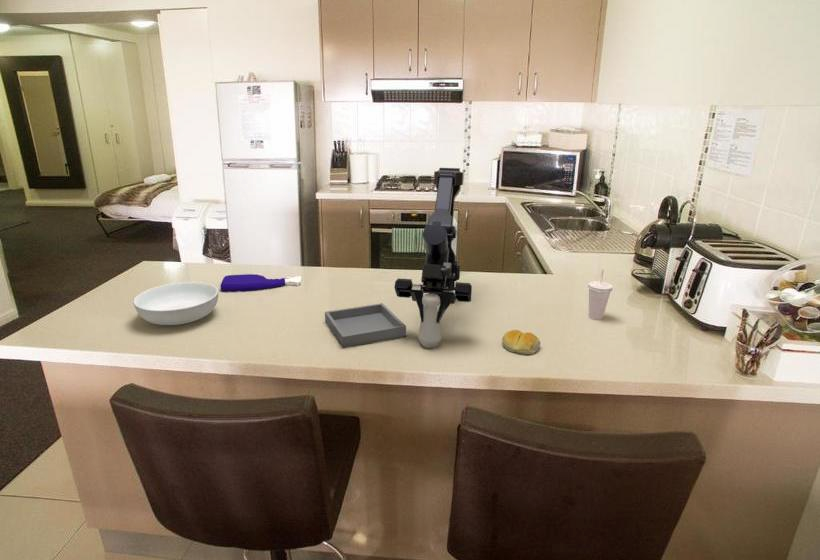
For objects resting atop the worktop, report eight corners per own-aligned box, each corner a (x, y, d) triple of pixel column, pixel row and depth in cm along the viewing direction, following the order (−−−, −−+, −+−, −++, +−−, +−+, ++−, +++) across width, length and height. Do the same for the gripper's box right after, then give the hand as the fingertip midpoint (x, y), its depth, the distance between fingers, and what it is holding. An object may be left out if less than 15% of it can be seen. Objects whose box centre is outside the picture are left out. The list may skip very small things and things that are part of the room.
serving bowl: (118, 326, 129) (114, 301, 127) (180, 299, 148) (177, 277, 145) (180, 340, 122) (176, 314, 120) (237, 310, 140) (234, 287, 138)
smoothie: (607, 314, 141) (614, 268, 137) (608, 323, 136) (615, 274, 131) (583, 311, 143) (590, 265, 139) (583, 319, 137) (590, 272, 133)
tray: (382, 313, 140) (382, 303, 139) (405, 336, 126) (406, 326, 125) (325, 322, 133) (324, 311, 132) (343, 348, 119) (342, 336, 118)
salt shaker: (439, 351, 118) (441, 300, 114) (416, 348, 120) (417, 298, 115) (442, 340, 124) (444, 292, 120) (420, 338, 125) (421, 290, 121)
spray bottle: (219, 285, 152) (300, 281, 157) (224, 274, 162) (300, 271, 167) (220, 294, 153) (301, 290, 158) (224, 282, 163) (300, 279, 168)
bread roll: (508, 336, 127) (509, 322, 126) (542, 345, 122) (544, 331, 121) (495, 349, 120) (497, 334, 119) (531, 359, 116) (532, 343, 115)
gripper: (396, 247, 119) (386, 306, 112) (473, 251, 116) (469, 312, 110) (401, 268, 129) (393, 324, 122) (473, 272, 126) (468, 329, 120)
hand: (429, 322), depth 118 cm, fingers closed on salt shaker, 3 cm apart
